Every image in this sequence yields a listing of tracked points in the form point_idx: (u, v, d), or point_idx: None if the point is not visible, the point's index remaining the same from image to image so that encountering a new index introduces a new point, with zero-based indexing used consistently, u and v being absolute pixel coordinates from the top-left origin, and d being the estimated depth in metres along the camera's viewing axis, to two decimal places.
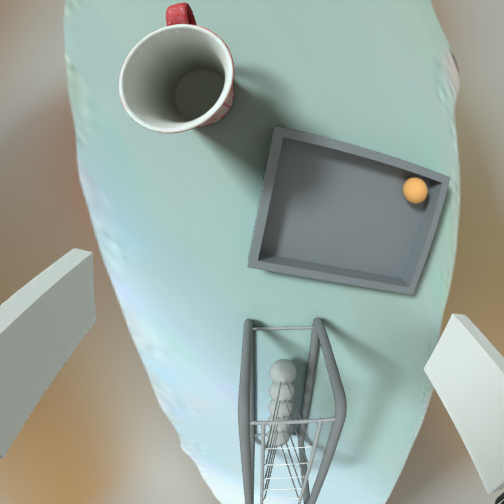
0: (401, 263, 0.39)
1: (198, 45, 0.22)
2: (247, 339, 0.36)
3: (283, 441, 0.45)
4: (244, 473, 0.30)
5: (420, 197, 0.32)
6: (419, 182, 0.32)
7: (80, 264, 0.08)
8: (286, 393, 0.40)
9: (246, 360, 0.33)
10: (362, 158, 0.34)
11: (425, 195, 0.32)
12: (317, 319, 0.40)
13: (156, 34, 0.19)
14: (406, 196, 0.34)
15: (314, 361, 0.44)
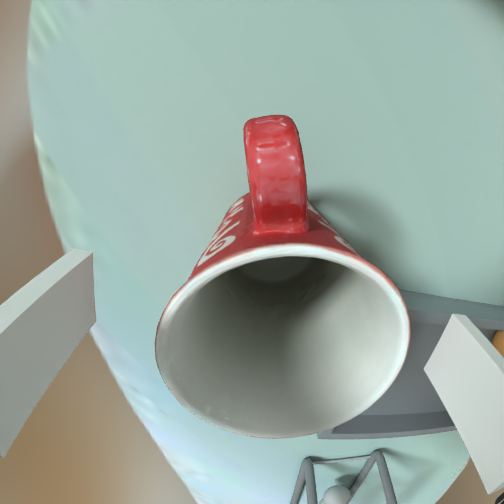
0: None
1: None
2: (312, 493, 0.27)
3: None
4: None
5: None
6: None
7: (80, 264, 0.08)
8: None
9: None
10: None
11: None
12: (379, 456, 0.31)
13: (240, 265, 0.09)
14: None
15: (364, 477, 0.34)
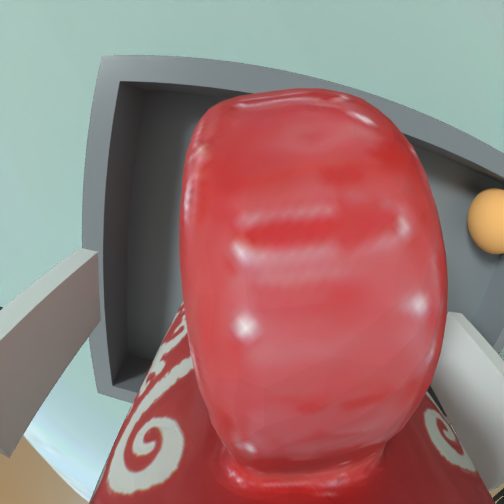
0: None
1: None
2: None
3: None
4: None
5: None
6: None
7: (86, 263, 0.09)
8: None
9: None
10: None
11: None
12: None
13: None
14: (478, 237, 0.12)
15: None
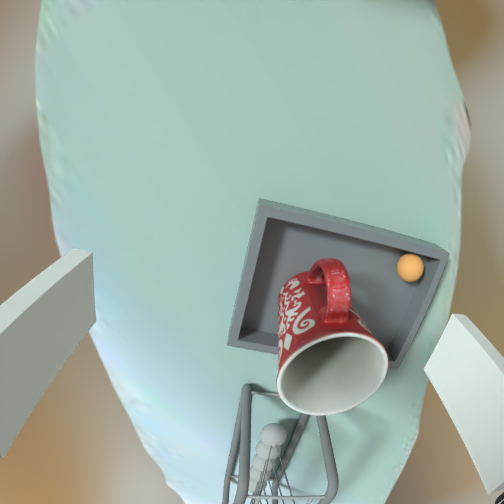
0: (389, 335, 0.37)
1: None
2: (247, 411, 0.34)
3: (260, 489, 0.42)
4: None
5: (414, 277, 0.31)
6: (415, 261, 0.30)
7: (80, 264, 0.08)
8: (273, 454, 0.38)
9: (247, 435, 0.30)
10: None
11: (420, 274, 0.31)
12: None
13: (325, 339, 0.21)
14: (399, 274, 0.32)
15: (303, 424, 0.42)
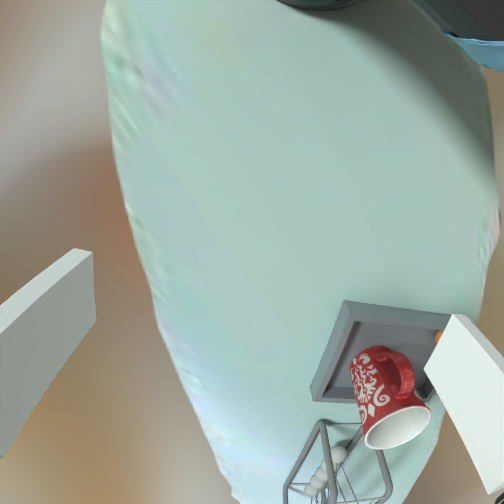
0: (423, 379, 0.45)
1: None
2: (327, 442, 0.42)
3: (317, 493, 0.51)
4: None
5: None
6: None
7: (80, 264, 0.08)
8: (335, 468, 0.47)
9: (330, 461, 0.39)
10: None
11: None
12: None
13: (398, 411, 0.29)
14: (436, 344, 0.40)
15: (355, 443, 0.50)
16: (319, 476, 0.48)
